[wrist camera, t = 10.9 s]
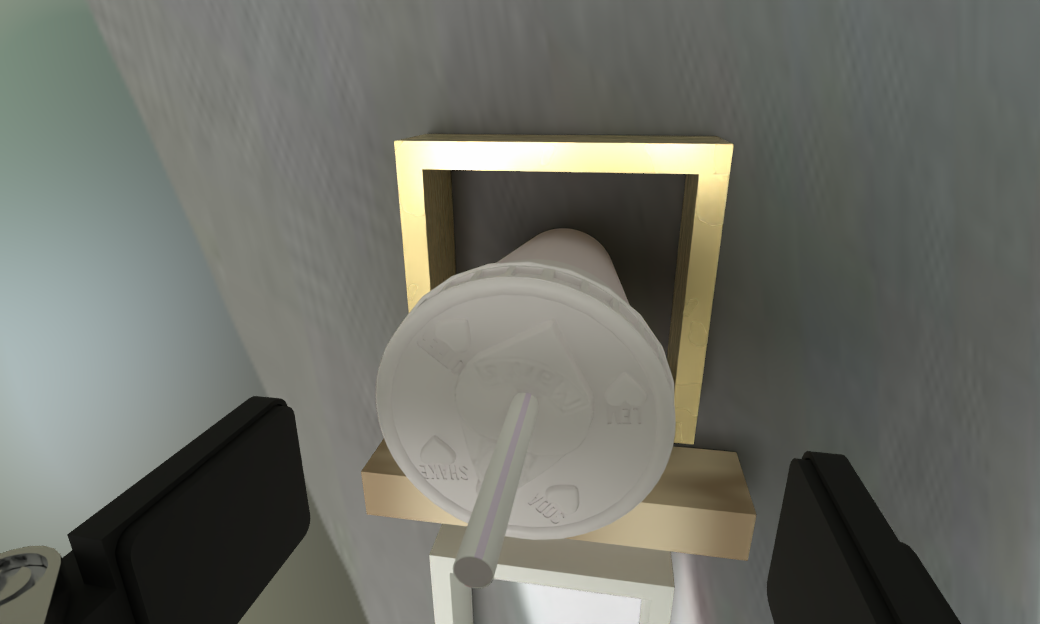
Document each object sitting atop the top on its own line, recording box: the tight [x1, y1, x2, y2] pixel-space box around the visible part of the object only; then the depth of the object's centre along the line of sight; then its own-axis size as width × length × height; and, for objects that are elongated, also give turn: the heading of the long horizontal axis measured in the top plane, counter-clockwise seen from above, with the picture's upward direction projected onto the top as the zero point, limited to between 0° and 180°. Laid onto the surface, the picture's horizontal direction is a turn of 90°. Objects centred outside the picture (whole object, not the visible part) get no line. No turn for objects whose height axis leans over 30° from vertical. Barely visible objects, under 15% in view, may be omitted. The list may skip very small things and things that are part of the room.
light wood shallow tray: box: [394, 134, 733, 444], centre depth 19 cm, size 10×10×3 cm
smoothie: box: [376, 228, 676, 589], centre depth 14 cm, size 6×6×14 cm
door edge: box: [361, 439, 756, 561], centre depth 22 cm, size 14×2×4 cm, turn 90°
